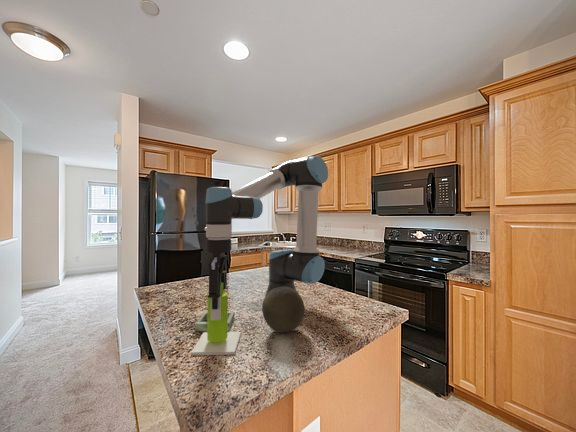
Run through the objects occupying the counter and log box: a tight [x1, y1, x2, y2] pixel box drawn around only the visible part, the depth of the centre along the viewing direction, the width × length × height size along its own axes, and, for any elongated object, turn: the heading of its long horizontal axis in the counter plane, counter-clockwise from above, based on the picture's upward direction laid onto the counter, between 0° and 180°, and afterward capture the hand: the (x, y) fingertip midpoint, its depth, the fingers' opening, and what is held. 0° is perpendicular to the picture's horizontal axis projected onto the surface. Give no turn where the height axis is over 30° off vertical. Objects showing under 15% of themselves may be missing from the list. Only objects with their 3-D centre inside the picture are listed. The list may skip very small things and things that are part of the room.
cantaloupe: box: [261, 286, 306, 334], centre depth 84 cm, size 14×14×15 cm
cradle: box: [194, 311, 235, 332], centre depth 90 cm, size 11×10×2 cm
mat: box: [190, 331, 242, 356], centre depth 76 cm, size 12×12×1 cm
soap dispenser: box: [206, 270, 229, 343], centre depth 76 cm, size 6×7×20 cm
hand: (218, 314), depth 76 cm, fingers closed on soap dispenser, 6 cm apart
